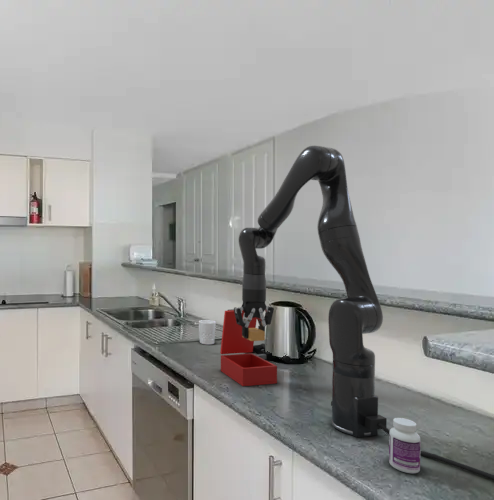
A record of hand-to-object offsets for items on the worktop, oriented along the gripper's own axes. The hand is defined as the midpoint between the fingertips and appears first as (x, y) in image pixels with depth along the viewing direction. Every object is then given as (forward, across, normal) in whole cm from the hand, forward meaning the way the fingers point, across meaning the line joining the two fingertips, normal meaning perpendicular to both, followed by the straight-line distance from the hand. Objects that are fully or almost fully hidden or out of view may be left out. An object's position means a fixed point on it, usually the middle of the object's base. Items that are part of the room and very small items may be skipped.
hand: (253, 337), depth 132 cm
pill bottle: (+15, +4, -52) cm, 54 cm away
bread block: (0, 0, 0) cm, 0 cm away
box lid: (+1, +1, +11) cm, 11 cm away
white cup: (+16, +7, +51) cm, 54 cm away
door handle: (+16, +19, +25) cm, 35 cm away
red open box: (+15, +1, +5) cm, 16 cm away
